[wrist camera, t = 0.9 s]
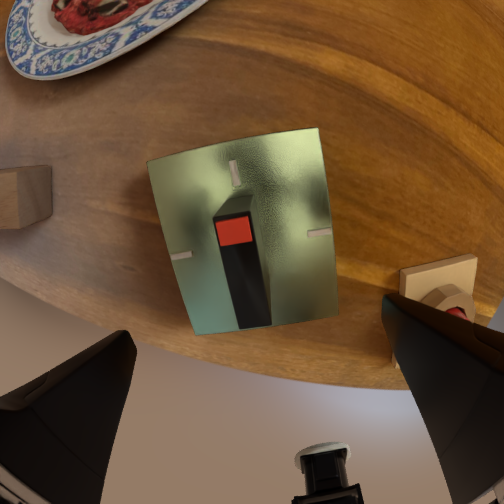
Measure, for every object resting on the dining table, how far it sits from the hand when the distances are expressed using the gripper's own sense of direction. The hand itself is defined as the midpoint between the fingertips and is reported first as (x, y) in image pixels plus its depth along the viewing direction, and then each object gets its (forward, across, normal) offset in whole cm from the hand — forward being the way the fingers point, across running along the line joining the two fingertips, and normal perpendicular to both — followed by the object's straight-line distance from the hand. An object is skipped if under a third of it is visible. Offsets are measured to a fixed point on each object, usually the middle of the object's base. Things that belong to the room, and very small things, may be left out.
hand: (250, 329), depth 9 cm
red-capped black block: (+8, 0, 0) cm, 8 cm away
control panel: (+11, 0, 0) cm, 11 cm away
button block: (+11, -15, +10) cm, 21 cm away
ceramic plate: (+11, +7, -27) cm, 31 cm away
